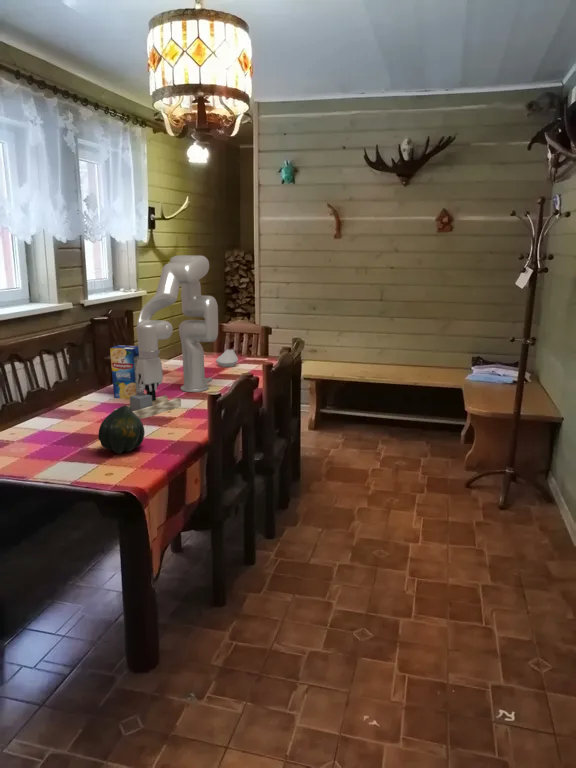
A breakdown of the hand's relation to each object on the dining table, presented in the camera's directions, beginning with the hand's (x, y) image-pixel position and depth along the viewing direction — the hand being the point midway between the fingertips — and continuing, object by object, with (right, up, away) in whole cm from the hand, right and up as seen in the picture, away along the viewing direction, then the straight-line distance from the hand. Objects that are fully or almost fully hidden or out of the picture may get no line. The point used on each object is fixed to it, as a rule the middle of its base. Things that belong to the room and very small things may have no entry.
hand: (151, 400), depth 241 cm
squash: (0, -15, -41) cm, 44 cm away
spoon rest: (+22, +17, +89) cm, 93 cm away
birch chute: (-1, -5, 0) cm, 5 cm away
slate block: (-3, -4, -3) cm, 6 cm away
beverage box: (-15, +1, +24) cm, 28 cm away
